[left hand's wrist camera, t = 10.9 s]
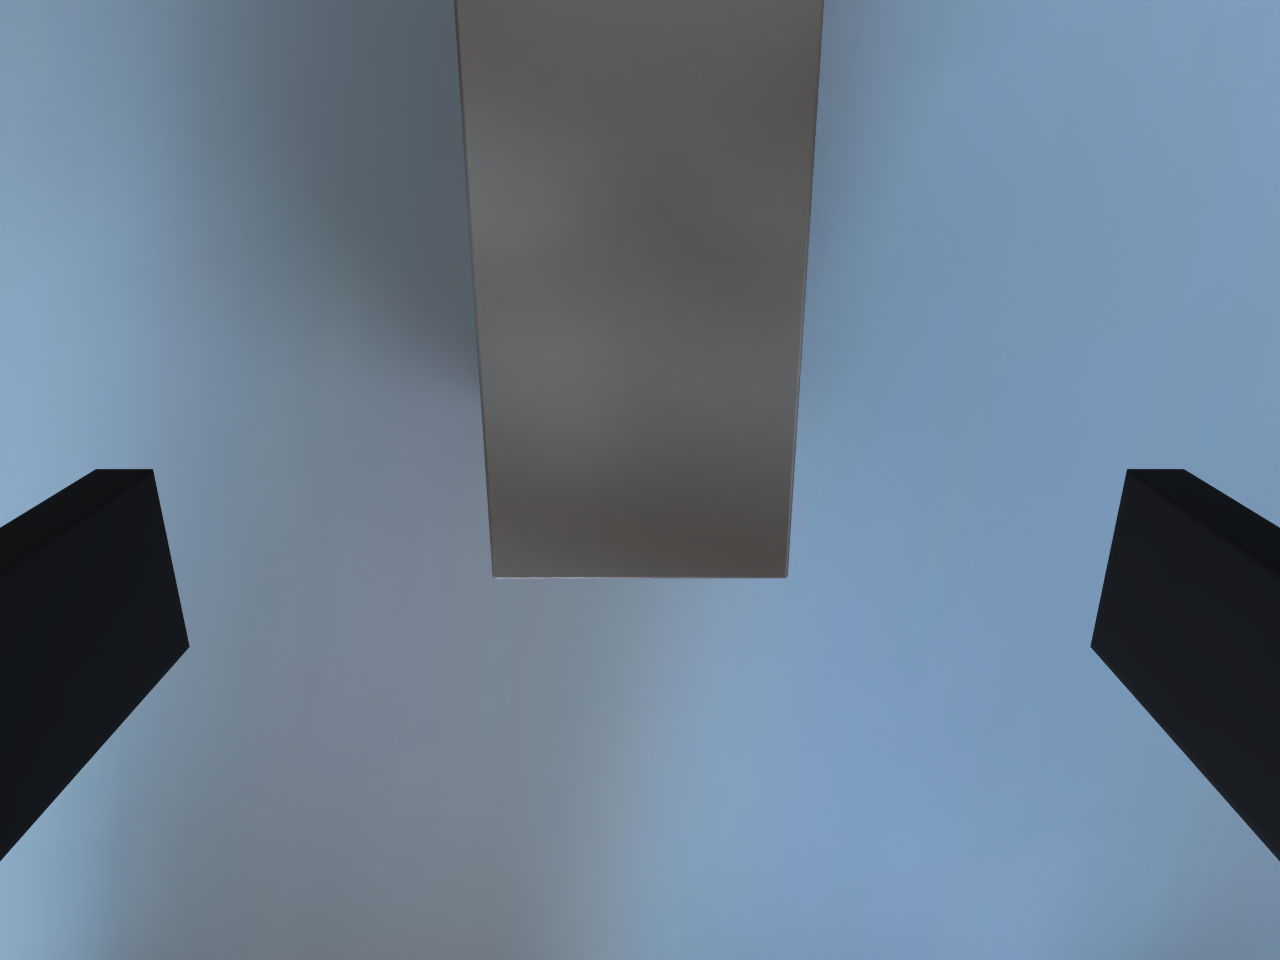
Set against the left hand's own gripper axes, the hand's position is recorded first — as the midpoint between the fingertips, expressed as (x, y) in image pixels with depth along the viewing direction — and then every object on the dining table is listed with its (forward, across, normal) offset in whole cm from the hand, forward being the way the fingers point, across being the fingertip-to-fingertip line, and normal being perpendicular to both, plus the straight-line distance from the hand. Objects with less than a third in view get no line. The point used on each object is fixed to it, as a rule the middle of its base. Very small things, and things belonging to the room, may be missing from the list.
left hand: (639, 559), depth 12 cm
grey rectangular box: (+18, 0, -7) cm, 19 cm away
